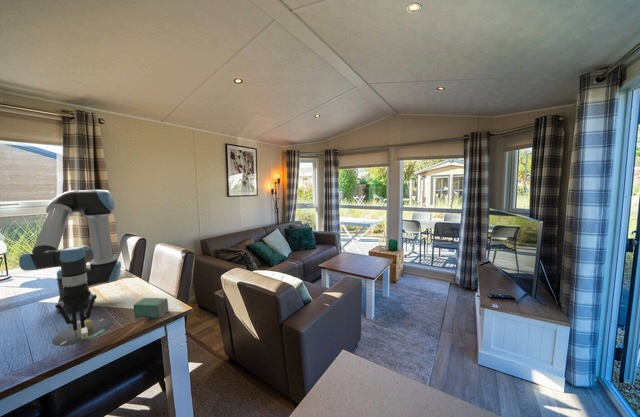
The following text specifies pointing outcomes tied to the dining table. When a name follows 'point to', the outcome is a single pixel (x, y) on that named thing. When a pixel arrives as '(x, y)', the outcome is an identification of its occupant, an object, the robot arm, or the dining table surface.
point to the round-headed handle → (85, 329)
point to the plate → (70, 338)
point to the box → (151, 307)
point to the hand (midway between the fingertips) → (79, 336)
